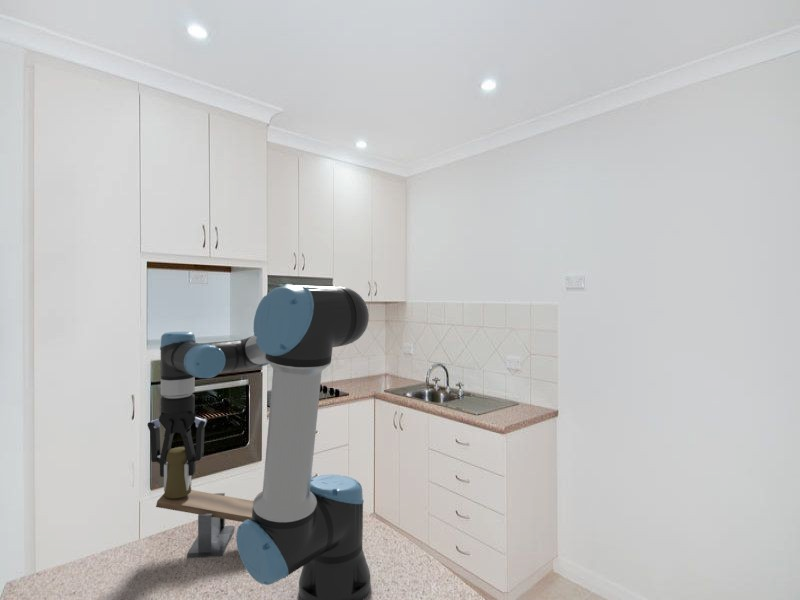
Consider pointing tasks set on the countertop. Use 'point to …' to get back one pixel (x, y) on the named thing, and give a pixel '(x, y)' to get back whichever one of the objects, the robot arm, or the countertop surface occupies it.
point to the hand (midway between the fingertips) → (177, 488)
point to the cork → (176, 474)
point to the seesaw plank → (209, 505)
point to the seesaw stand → (211, 536)
